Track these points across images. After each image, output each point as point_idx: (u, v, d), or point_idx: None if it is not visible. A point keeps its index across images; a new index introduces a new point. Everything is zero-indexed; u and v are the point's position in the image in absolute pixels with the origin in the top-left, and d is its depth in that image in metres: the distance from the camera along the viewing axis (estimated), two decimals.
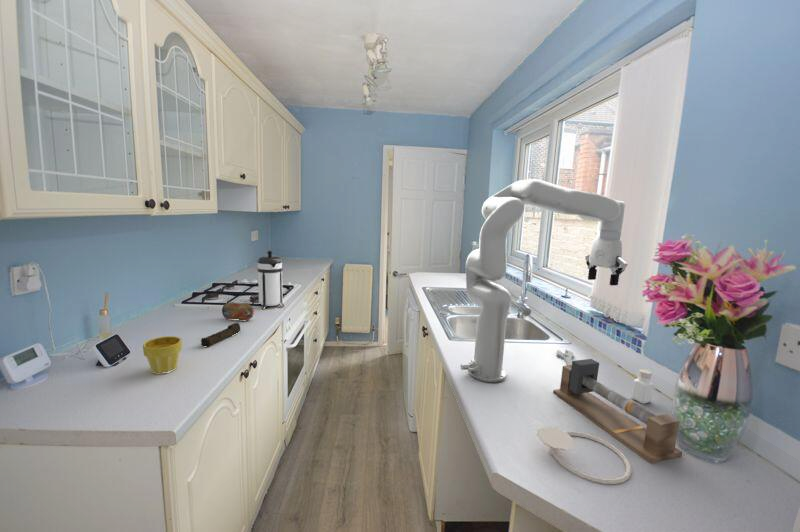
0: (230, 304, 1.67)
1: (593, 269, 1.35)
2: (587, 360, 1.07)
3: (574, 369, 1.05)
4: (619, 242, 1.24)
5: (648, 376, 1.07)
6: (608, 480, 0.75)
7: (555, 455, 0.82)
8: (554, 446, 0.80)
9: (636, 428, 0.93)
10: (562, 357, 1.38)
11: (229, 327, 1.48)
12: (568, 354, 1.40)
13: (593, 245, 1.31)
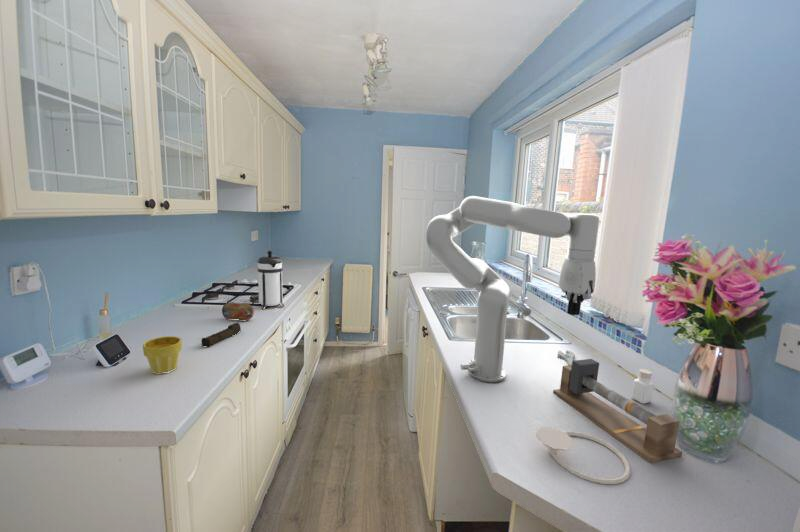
0: (230, 304, 1.67)
1: None
2: (587, 360, 1.07)
3: (574, 369, 1.05)
4: (592, 264, 1.04)
5: (648, 376, 1.07)
6: (608, 480, 0.75)
7: (554, 456, 0.82)
8: (553, 447, 0.80)
9: (636, 428, 0.93)
10: (563, 358, 1.38)
11: (229, 327, 1.48)
12: (569, 355, 1.39)
13: (563, 266, 1.10)
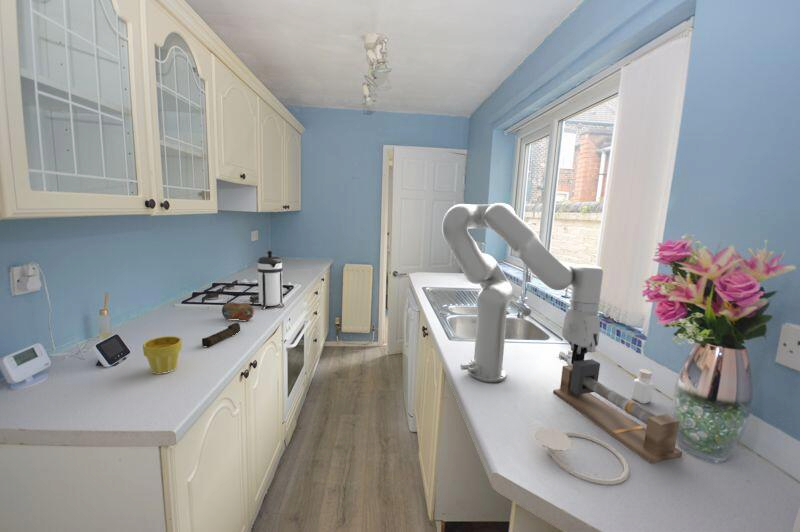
0: (230, 304, 1.67)
1: None
2: (588, 360, 1.07)
3: (575, 369, 1.05)
4: (596, 317, 1.02)
5: (648, 376, 1.07)
6: (607, 481, 0.75)
7: (553, 456, 0.82)
8: (553, 448, 0.80)
9: (636, 428, 0.93)
10: (565, 358, 1.37)
11: (229, 327, 1.48)
12: (571, 355, 1.39)
13: (567, 316, 1.09)
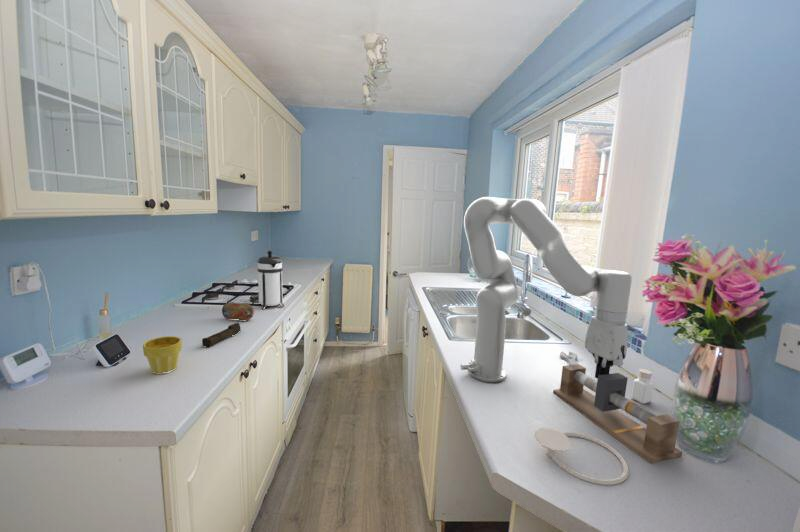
0: (230, 304, 1.67)
1: None
2: (614, 374, 0.98)
3: (600, 384, 0.97)
4: (624, 327, 0.94)
5: (648, 376, 1.07)
6: (607, 481, 0.75)
7: (553, 457, 0.82)
8: (552, 448, 0.80)
9: (636, 428, 0.93)
10: (566, 359, 1.37)
11: (229, 327, 1.48)
12: (572, 356, 1.38)
13: (590, 326, 1.01)
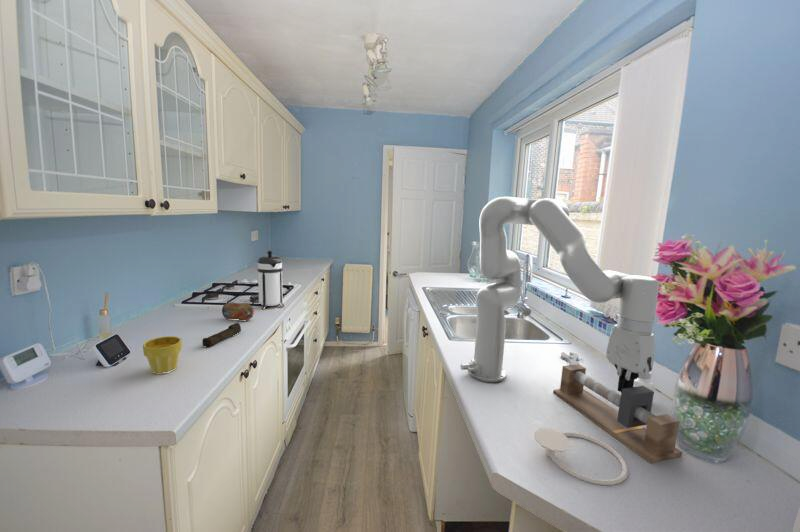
0: (230, 304, 1.67)
1: None
2: (639, 388, 0.91)
3: (624, 399, 0.90)
4: (651, 338, 0.87)
5: None
6: (606, 481, 0.75)
7: (552, 457, 0.82)
8: (552, 448, 0.79)
9: (636, 428, 0.93)
10: (566, 359, 1.36)
11: (230, 327, 1.47)
12: (573, 356, 1.38)
13: (613, 335, 0.94)
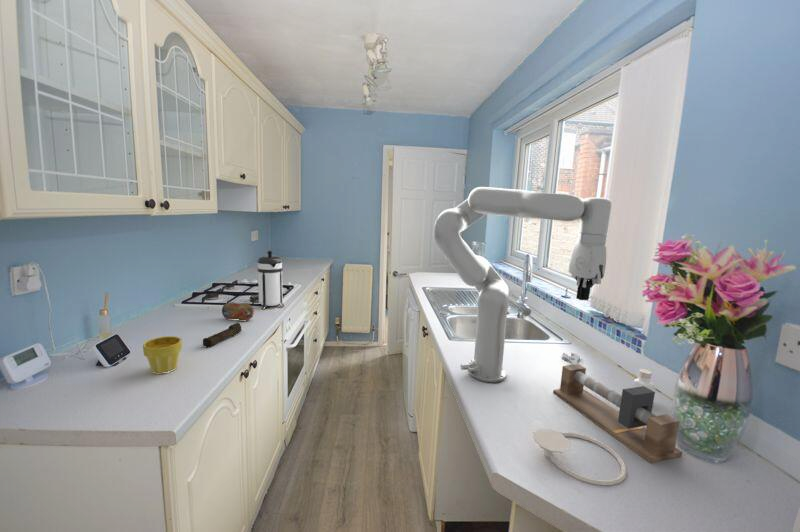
0: (230, 304, 1.67)
1: None
2: (640, 388, 0.91)
3: (625, 399, 0.89)
4: (603, 248, 1.03)
5: (648, 376, 1.07)
6: (606, 481, 0.75)
7: (551, 458, 0.81)
8: (551, 449, 0.79)
9: (636, 428, 0.93)
10: (568, 360, 1.36)
11: (230, 327, 1.47)
12: (574, 357, 1.37)
13: (574, 251, 1.10)
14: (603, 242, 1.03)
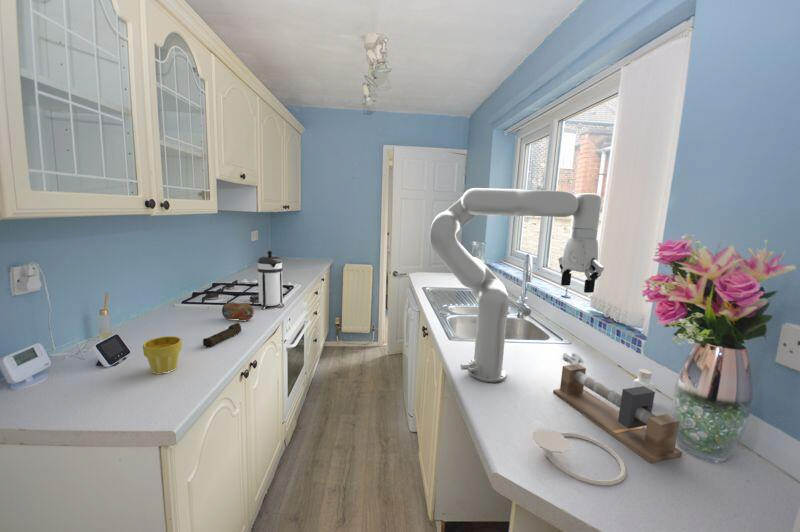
0: (230, 304, 1.67)
1: (567, 273, 1.16)
2: (640, 388, 0.91)
3: (625, 399, 0.89)
4: (595, 242, 1.06)
5: (648, 376, 1.07)
6: (605, 481, 0.75)
7: (551, 458, 0.81)
8: (551, 449, 0.79)
9: (636, 428, 0.93)
10: (569, 360, 1.35)
11: (230, 327, 1.47)
12: (575, 357, 1.37)
13: (566, 246, 1.13)
14: (594, 236, 1.07)
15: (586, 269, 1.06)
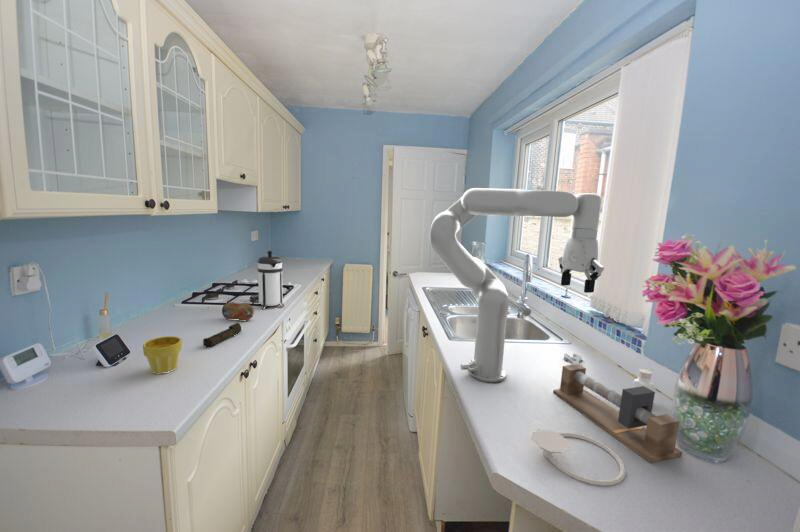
0: (230, 304, 1.67)
1: (567, 273, 1.16)
2: (640, 388, 0.91)
3: (625, 399, 0.89)
4: (595, 242, 1.06)
5: (648, 376, 1.07)
6: (605, 482, 0.75)
7: (551, 458, 0.81)
8: (550, 450, 0.79)
9: (636, 428, 0.93)
10: (569, 361, 1.35)
11: (230, 327, 1.47)
12: (576, 358, 1.37)
13: (566, 246, 1.13)
14: (594, 236, 1.07)
15: (586, 269, 1.06)
